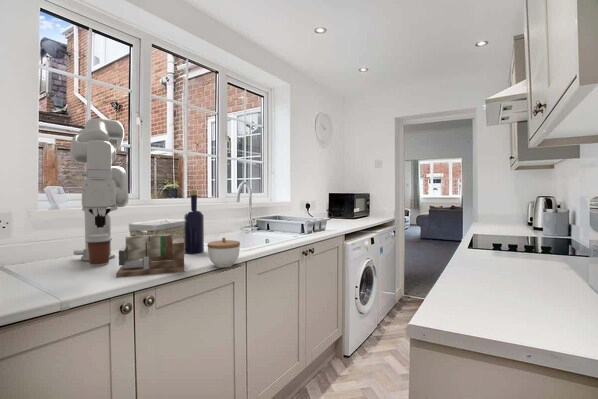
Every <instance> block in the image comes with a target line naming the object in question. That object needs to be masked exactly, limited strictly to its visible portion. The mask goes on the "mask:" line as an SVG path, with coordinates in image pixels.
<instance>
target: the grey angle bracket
mask: <svg viewBox="0 0 598 399" xmlns="http://www.w3.org/2000/svg"><path fill="white" fill-rule="evenodd" d="M122 265H125V269H127V268H140V267H144V258H138V259H128V246H126V245H125V246H122V247H121V248H120V249H118V266H120V267H121V266H122Z"/></svg>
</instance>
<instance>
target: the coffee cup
mask: <svg viewBox="0 0 598 399" xmlns="http://www.w3.org/2000/svg"><path fill="white" fill-rule="evenodd" d="M112 240H113V237H112V236H111V237H110V236H109V234H91V235H89V238H87V239H86V240H85V239H84V243H85V242H87V243H88V252H89V260H90V261H89V266H90V267H99V266H107V265H109V261H110V260H109V250H110V241H111V242H112Z"/></svg>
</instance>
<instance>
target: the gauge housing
mask: <svg viewBox="0 0 598 399" xmlns="http://www.w3.org/2000/svg"><path fill="white" fill-rule="evenodd" d="M146 242H147V257H149V269H144V267H140V268H127V269H125V265H120V267H119V269H118V270H117V271H116V274H115V277H116V278H125V277H137V276H148V275H149V276H150V275H160V274H172V273H173V274H175V273H184V272H185V247H184V238H176V234H173V235H150V236H129V235H128V236H127V235H126V236H125V246H128V259H138V258H144V257H146Z"/></svg>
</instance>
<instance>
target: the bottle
mask: <svg viewBox="0 0 598 399" xmlns="http://www.w3.org/2000/svg"><path fill="white" fill-rule="evenodd" d="M189 196H190V210H189V211H187V212H186V213H185V214H184V216H183V217H184V219H183V220H184V236H185V247H184V254H186V255H196V254H202V253H205V246H204V245H205V238H204V237H205V235H204V234H205V231H204V230H205V229H204V228H205V226H204V225H205V224H204V223H205V222H204V218H205V217H204V214H203V212H201V211H199V210H198V206H197V205H198V190H197V189H194V190H193V189H191V190H190V195H189Z"/></svg>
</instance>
